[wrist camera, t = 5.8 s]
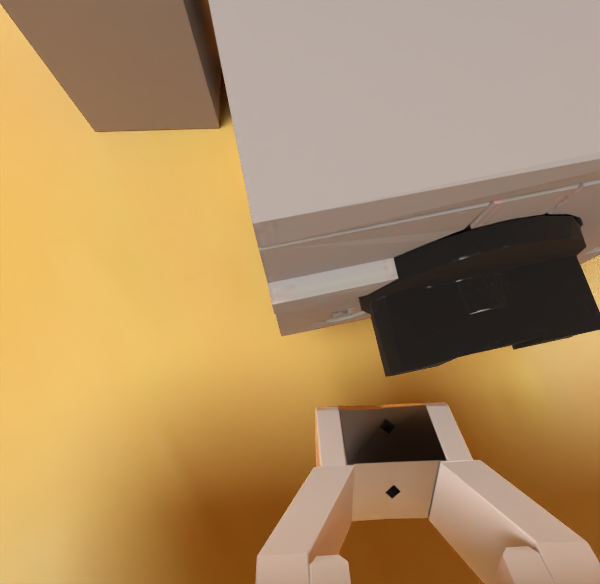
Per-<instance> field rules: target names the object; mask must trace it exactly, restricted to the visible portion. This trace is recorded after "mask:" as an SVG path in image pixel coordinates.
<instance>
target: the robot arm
mask: <svg viewBox="0 0 600 584" xmlns="http://www.w3.org/2000/svg"><path fill="white" fill-rule="evenodd" d="M315 446H316V467H313V469H312V470H311V472H310V474H309V475H308V477H307V478H306V480H305V481H304V483H303V485H302V486H301V488H300V489H299V491H298V492H297V494H296V496H295V497H294V499H293V500H292V502H291V503H290V505H289V507H288V508H287V510H286V511H285V513H284V514H283V516H282V518H281V519H280V521H279V522H278V524H277V525H276V527H275V529H274V530H273V532H272V533H271V535H270V536H269V538H268V540H267V541H266V543H265V544H264V546H263V548H262V549H261V551H260V552H259V554H258V555H257V565H256V583H255V584H351V580H350V572H349V564H348V561H347V560H345V559H344V558H343V557H342V556H340V555H338V554H339V552H340V549H341V547H342V545H343V542H344V540H345V538H346V535H347V533H348V531H349V529H350V526H351V523H352V521H363V520H376V519H389V518H390V519H393V518H429V521H430V522H431V523H432V524H433V526H434V527H435V528H436V529H437V530H438V531H439V533H440V534H441V535H442V536H443V537H444V538H445V539H446V541H447V542H448V543H449V544H450V545H451V546H452V548H453V549H454V550H455V551H456V552H457V553H458V554H459V556H460V557H461V558H462V559H463V560H464V561H465V562H466V564H467V565H468V566H469V567H470V568H471V569H472V571H473V572H474V573H475V574H476V575H477V576H478V577H479V579H480V580H481V581H482V582H483V583H484V584H600V562H599V560H598V559H597V557H596V555H595V554H594V552H593V550H592V549H591V547H590V545H589V544H588V542H587V541H585V540H584V539H583V538H582V537H580V536H579V535H578V534H576V533H575V532H574V531H572V530H571V529H570V528H568V527H567V526H566V525H565V524H563V523H562V522H561V521H559V520H558V519H557V518H555V517H554V516H553V515H552V514H550V513H549V512H548V511H546V510H545V509H544V508H542V507H541V506H540V505H539V504H537V503H536V502H535V501H533V500H532V499H531V498H529V497H528V496H527V495H526V494H524V493H523V492H522V491H520V490H519V489H518V488H516V487H515V486H514V485H512V484H511V483H510V482H509V481H507V480H506V479H505V478H503V477H502V476H501V475H499V474H498V473H497V472H496V471H494V470H493V469H492V468H490V467H489V466H488V465H486V464H485V463H484V462H483V461H481V460H473V458H472V456H471V453H470V451H469V449H468V447H467V445H466V442H465V440H464V438H463V436H462V434H461V432H460V429H459V427H458V425H457V423H456V421H455V418H454V416H453V414H452V412H451V410H450V408H449V405H448V404H447V403H446V402H430V403H423V404H422V403H411V404H391V405H372V406H338V408H337V407H316V409H315Z"/></svg>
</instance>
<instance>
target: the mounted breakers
mask: <svg viewBox="0 0 600 584" xmlns="http://www.w3.org/2000/svg"><path fill="white" fill-rule="evenodd" d="M0 4H1V5H2V6H3V8H4V9H5V10H6V12H7V13H8V14H9V16H10V17H11V19H12V20H13V21H14V23H15V24H16V25H17V27H18V28H19V29H20V31H21V32H22V33H23V35H24V36H25V37H26V39H27V40H28V41H29V43H30V44H31V46H32V47H33V48H34V50H35V51H36V52H37V54H38V55H39V56H40V58H41V59H42V60H43V62H44V63H45V64H46V66H47V67H48V68H49V70H50V71H51V73H52V74H53V75H54V77H55V78H56V79H57V81H58V82H59V83H60V85H61V86H62V87H63V89H64V90H65V91H66V93H67V94H68V95H69V97H70V98H71V100H72V101H73V102H74V104H75V105H76V106H77V108H78V109H79V110H80V112H81V113H82V114H83V116H84V117H85V118H86V120H87V121H88V122H89V124H90V125H91V127H92V128H93V129H94V131H131V130H166V129H202V128H220V69H221V61H220V56H219V51H218V46H217V41H216V36H215V31H214V26H213V21H212V16H211V11H210V6H209V1H208V0H0Z"/></svg>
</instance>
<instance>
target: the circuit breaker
mask: <svg viewBox="0 0 600 584" xmlns="http://www.w3.org/2000/svg"><path fill="white" fill-rule="evenodd" d="M208 1H209V6H210V11H211V16H212V21H213V26H214V31H215V36H216V41H217V46H218V51H219V56H220V61H221V67H222V72H223V77H224V82H225V87H226V92H227V97H228V102H229V107H230V112H231V117H232V122H233V127H234V132H235V137H236V142H237V147H238V152H239V157H240V162H241V167H242V172H243V177H244V182H245V187H246V192H247V197H248V202H249V207H250V212H251V218H252V223H253V227H254V231H255V235H256V239H257V243H258V247H259V251H260V255H261V259H262V262H263V266H264V270H265V274H266V278H267V282H268V287H269V292H270V297H271V302H272V306H273V310H274V313H275V314H276V317H277V321H278V325H279V329H280V333H281V336H286V335H291V334H295V333H300V332H305V331H310V330H314V329H319V328H324V327H329V326H333V325H338V324H343V323H347V322H352V321H357V320H362V319H366V318H371V319H372V323H373V327H374V331H375V335H376V339H377V343H378V347H379V351H380V356H381V360H382V364H383V368H384V372H385V376H386V377H387V376H393V375H398V374H403V373H408V372H412V371H417V370H422V369H426V368H431V367H435V366H439V365H441V364H444V363H446V362H448V361H451V360H453V359H455V358H457V357H461V356H465V355H469V354H474V353H478V352H483V351H488V350H492V349H497V348H501V347H506V346H511V345H512V347H513V350H514V349H518V348H523V347H527V346H532V345H537V344H541V343H546V342H550V341H555V340H560V339H564V338H569V337H572V336H574V335H578V334H582V333H587V332H591V331H595V330H600V312H599V309H598V307H597V305H596V302H595V300H594V297H593V295H592V292H591V290H590V287H589V285H588V283H587V280H586V278H585V275H584V273H583V270H582V268H581V266H580V264H582V263H584V262H586V261H588V260H590V259H592V258H594V257H596V256H598V255H600V0H208Z"/></svg>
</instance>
